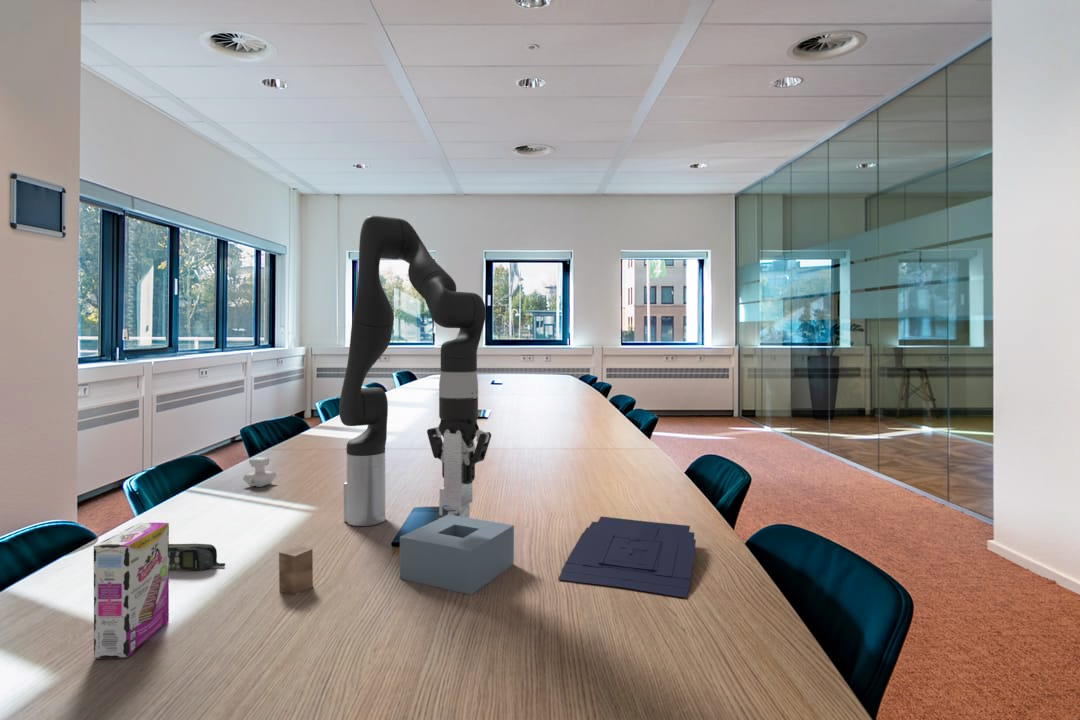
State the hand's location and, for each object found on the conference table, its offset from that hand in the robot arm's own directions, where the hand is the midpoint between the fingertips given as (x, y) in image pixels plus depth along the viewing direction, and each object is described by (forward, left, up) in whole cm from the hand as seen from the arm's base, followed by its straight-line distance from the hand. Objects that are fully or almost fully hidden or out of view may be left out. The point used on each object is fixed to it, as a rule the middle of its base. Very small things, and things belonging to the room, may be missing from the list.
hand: (458, 481), depth 116 cm
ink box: (-13, +18, -18) cm, 29 cm away
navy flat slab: (+29, +21, -18) cm, 40 cm away
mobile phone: (-49, -23, -18) cm, 57 cm away
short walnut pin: (-22, -20, -18) cm, 35 cm away
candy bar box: (-29, -44, -18) cm, 56 cm away
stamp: (-91, +28, -18) cm, 97 cm away
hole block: (0, 0, -18) cm, 18 cm away
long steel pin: (0, 0, -4) cm, 4 cm away
